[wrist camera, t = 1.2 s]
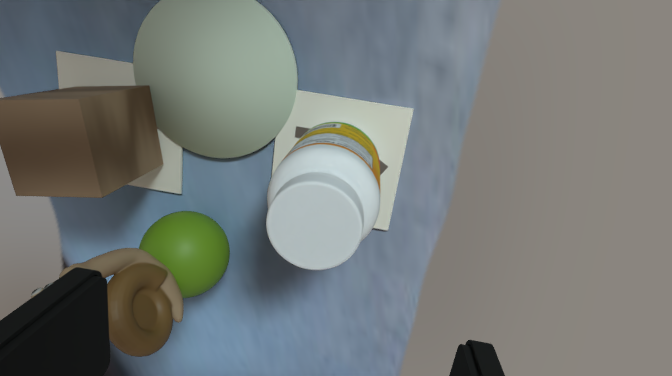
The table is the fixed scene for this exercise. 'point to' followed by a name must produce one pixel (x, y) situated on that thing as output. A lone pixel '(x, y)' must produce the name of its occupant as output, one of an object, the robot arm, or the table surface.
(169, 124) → the felt coaster
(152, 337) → the snail figurine
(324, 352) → the table surface
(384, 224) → the code tile
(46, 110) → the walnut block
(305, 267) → the supplement bottle
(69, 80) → the code tile
